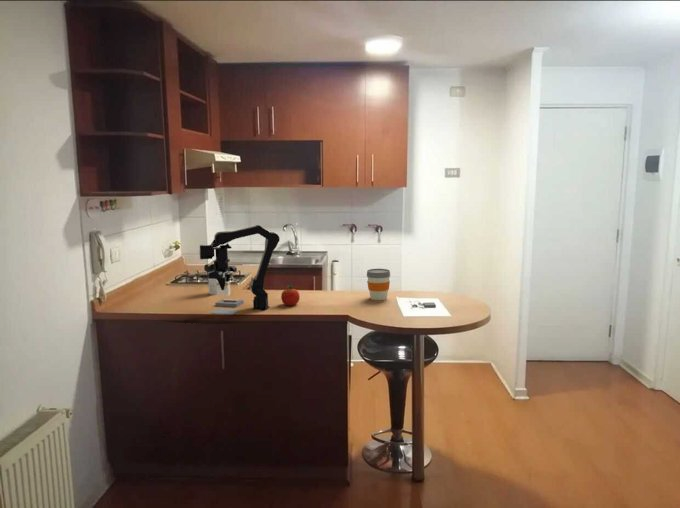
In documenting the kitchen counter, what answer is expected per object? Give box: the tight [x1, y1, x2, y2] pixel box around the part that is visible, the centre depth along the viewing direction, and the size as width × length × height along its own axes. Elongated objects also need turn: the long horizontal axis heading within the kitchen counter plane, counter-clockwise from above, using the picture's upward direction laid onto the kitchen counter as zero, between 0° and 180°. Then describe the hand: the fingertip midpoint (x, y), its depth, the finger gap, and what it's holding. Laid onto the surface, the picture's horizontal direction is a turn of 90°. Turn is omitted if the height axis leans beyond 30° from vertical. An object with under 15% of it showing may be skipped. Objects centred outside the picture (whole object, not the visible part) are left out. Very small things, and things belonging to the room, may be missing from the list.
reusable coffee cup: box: [366, 268, 391, 301], centre depth 269 cm, size 13×13×15 cm
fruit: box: [280, 285, 300, 307], centre depth 259 cm, size 10×10×10 cm
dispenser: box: [215, 298, 245, 308], centre depth 261 cm, size 12×8×2 cm, turn 75°
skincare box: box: [207, 271, 218, 296], centre depth 287 cm, size 8×7×16 cm
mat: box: [209, 308, 240, 316], centre depth 248 cm, size 12×8×1 cm, turn 75°
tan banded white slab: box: [216, 281, 231, 296], centre depth 246 cm, size 6×2×6 cm, turn 75°
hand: (223, 289), depth 246 cm, fingers closed on tan banded white slab, 2 cm apart
